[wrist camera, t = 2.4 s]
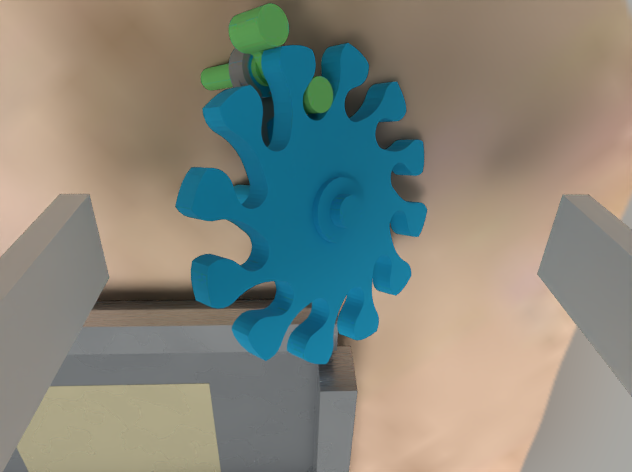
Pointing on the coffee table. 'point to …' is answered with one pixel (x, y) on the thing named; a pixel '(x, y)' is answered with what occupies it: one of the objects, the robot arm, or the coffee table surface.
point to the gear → (302, 189)
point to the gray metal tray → (188, 398)
